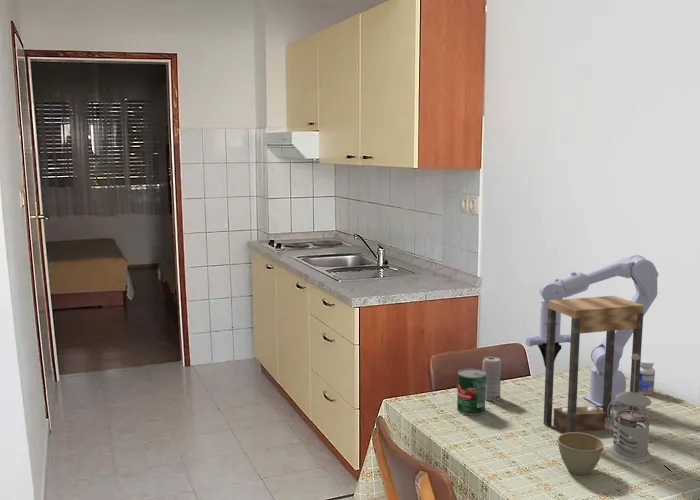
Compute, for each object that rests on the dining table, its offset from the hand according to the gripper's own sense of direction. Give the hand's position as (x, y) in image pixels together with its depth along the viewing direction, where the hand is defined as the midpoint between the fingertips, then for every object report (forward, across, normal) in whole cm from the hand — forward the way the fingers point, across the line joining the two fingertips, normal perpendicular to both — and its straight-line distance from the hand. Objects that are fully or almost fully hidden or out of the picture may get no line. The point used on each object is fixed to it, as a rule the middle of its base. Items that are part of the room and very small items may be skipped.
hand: (548, 367), depth 202 cm
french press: (+10, +2, +38) cm, 39 cm away
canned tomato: (+10, +26, +2) cm, 28 cm away
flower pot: (+10, +19, +43) cm, 48 cm away
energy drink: (+10, +16, -5) cm, 19 cm away
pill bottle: (+10, -31, +4) cm, 33 cm away
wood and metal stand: (+9, +2, +23) cm, 25 cm away
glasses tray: (+10, +4, +22) cm, 24 cm away
